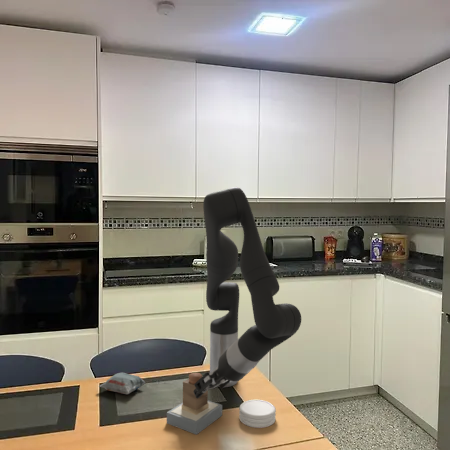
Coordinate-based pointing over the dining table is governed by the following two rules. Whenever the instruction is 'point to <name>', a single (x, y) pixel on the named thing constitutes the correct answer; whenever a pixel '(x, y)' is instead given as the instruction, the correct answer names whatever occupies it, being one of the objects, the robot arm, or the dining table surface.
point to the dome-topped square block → (193, 396)
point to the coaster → (257, 413)
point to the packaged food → (123, 383)
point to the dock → (194, 417)
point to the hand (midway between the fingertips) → (208, 389)
